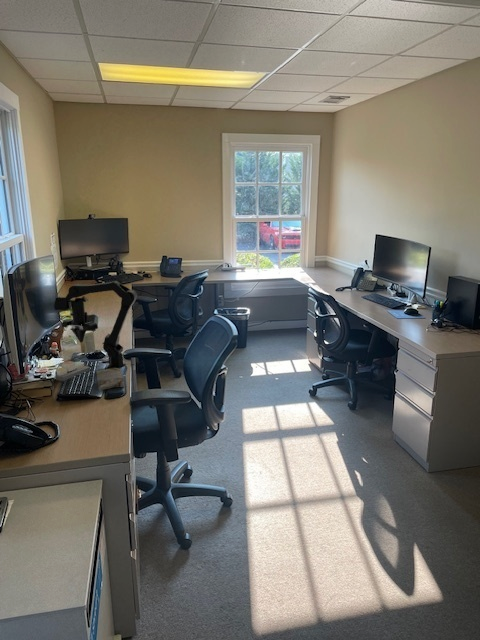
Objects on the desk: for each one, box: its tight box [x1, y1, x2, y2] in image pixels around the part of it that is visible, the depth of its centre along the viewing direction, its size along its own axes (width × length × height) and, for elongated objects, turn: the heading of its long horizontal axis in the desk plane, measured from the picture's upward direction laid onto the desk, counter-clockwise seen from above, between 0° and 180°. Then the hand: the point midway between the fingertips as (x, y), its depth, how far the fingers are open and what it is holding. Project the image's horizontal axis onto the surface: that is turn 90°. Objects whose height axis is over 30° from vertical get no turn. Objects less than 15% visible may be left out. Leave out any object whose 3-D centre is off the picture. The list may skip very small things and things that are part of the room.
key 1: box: [74, 361, 85, 369], centre depth 220 cm, size 4×4×4 cm
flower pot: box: [88, 313, 99, 325], centre depth 298 cm, size 9×9×9 cm
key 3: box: [56, 367, 67, 376], centre depth 211 cm, size 4×4×4 cm
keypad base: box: [55, 365, 91, 382], centre depth 216 cm, size 10×16×2 cm, turn 151°
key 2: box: [62, 360, 76, 372], centre depth 215 cm, size 4×4×4 cm
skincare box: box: [79, 330, 96, 354], centre depth 245 cm, size 6×4×12 cm
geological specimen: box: [96, 367, 125, 392], centre depth 203 cm, size 11×6×15 cm
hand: (81, 342), depth 224 cm, fingers closed
